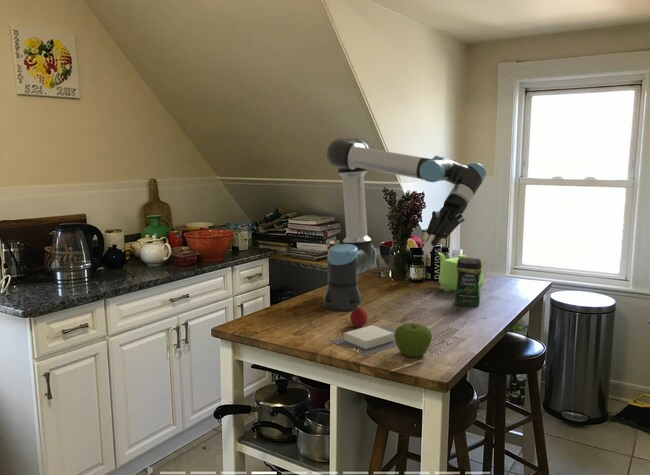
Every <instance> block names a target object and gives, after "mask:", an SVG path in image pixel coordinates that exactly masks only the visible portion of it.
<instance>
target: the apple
mask: <svg viewBox="0 0 650 475" xmlns="http://www.w3.org/2000/svg"><path fill="white" fill-rule="evenodd" d="M395 330H396V332H395V335H394V336H395V341H396V344H397V346H396V347H397V348H398V351H399V352H400V353H401V354H403V355H404V356H406V357H409V358H418V357H421V356H423V355H425V354H426V353H427V350H428V349H429V347H430V345H431V342H432V338H433V335H432V332H431V330H430V328H428V327H427V326H426V325H423V324H419V323H414V322H413V323H412V322H409V323H403V324H401V325H400V326H397V327H396V329H395Z"/></svg>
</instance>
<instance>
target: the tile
mask: <svg viewBox="0 0 650 475" xmlns="http://www.w3.org/2000/svg"><path fill="white" fill-rule="evenodd" d="M379 327H380V326H379ZM379 327H378V326H376V325H373V324H372V325H368V326H363V327H359V328H356V329H353V330H350V331H347V332H346V331H344V333H343V336H344V340H345V341H347V342H350V343H352V344H354V345H357V346H359V347H362V348H364V349H369V348H372V347H375V346H378V345H382V344H385V343H388V342H391V341H394V333H393V332H390V331H387V330H384V329H381V328H379Z"/></svg>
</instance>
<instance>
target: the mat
mask: <svg viewBox="0 0 650 475" xmlns="http://www.w3.org/2000/svg"><path fill="white" fill-rule="evenodd" d="M379 328H381V329H384V330H387V331H390V332H393V333H394V335H395V332H396V329H394V328H391V327H389V326H386V325H383V326H379ZM331 341H333V342H332V343H333V344H335V343H337V342H338V343H337V344H336V345H338V344H339V345H338V346H340V345H341V346H340V347H342V346H345V347H348V348H351V349H353V348H355V349H356V351H357V350H358V349H359V352H360V351H361V352H360V353H362V354H364V355H366V356H369V355H373V354H375V353H380V352H382V351H385V350H388V349H391V348H395V347H398V346H397V344H396V341H395V336H394V341H391V342H388V343H385V344H382V345H378V346H375V347H372V348H369V349H364V348H362V347H359V346H357V345H354V344H352V343H350V342H347V341H345V340H344V337H339V338H337V339H333V340H331ZM345 347H344V348H345ZM366 356H365V357H366Z"/></svg>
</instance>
